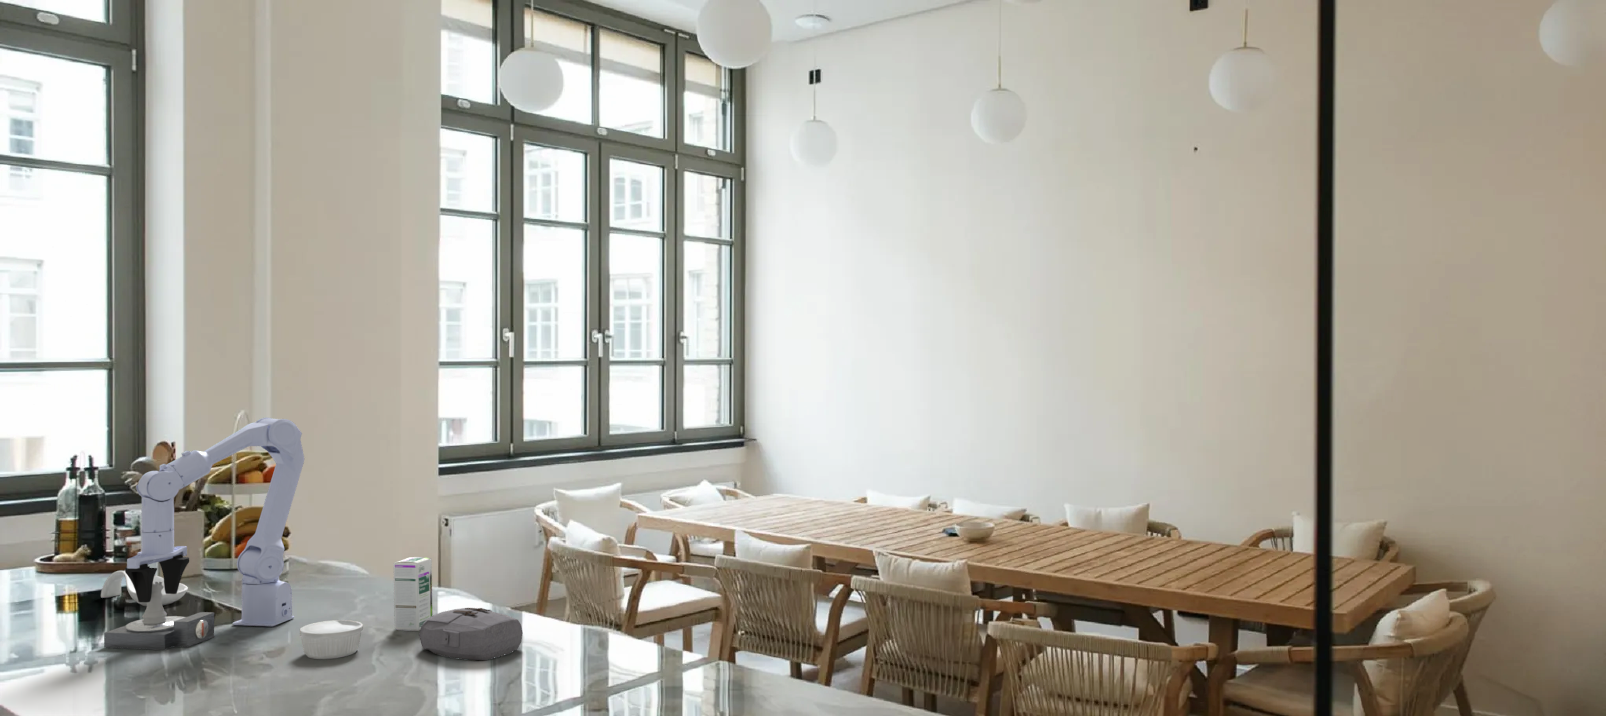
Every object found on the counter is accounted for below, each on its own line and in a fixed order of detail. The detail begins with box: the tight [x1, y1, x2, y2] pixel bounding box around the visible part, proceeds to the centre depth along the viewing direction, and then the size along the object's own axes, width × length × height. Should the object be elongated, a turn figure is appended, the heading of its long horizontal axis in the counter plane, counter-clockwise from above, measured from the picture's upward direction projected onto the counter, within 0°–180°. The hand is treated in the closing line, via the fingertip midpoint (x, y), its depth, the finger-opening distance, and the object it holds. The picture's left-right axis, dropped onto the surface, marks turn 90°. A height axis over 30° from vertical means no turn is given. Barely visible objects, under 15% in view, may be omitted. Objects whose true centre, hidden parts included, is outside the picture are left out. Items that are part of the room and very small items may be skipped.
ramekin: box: [299, 619, 364, 660], centre depth 213 cm, size 11×11×5 cm
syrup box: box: [393, 556, 433, 632], centre depth 233 cm, size 6×6×14 cm
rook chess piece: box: [142, 582, 168, 625], centre depth 222 cm, size 4×4×8 cm
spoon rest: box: [100, 570, 189, 607], centre depth 258 cm, size 24×12×7 cm, turn 66°
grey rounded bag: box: [418, 607, 523, 661], centre depth 215 cm, size 15×8×20 cm
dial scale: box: [103, 611, 215, 651], centre depth 222 cm, size 16×13×5 cm
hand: (158, 597), depth 222 cm, fingers open, 7 cm apart
